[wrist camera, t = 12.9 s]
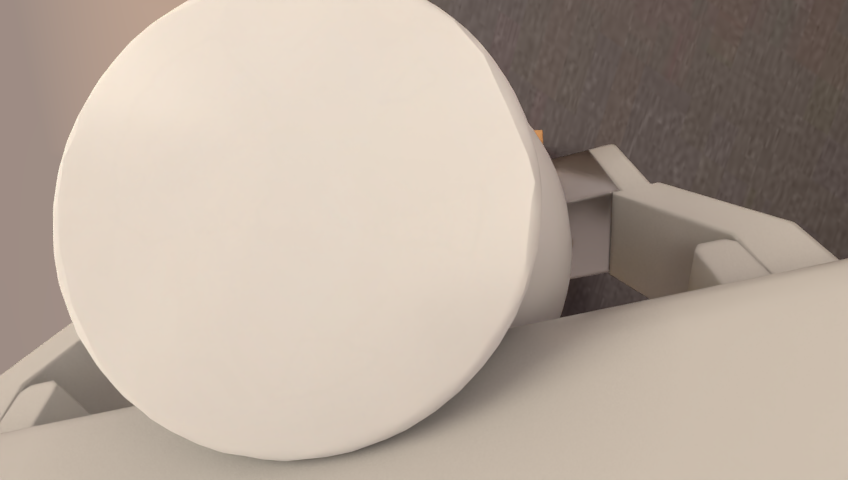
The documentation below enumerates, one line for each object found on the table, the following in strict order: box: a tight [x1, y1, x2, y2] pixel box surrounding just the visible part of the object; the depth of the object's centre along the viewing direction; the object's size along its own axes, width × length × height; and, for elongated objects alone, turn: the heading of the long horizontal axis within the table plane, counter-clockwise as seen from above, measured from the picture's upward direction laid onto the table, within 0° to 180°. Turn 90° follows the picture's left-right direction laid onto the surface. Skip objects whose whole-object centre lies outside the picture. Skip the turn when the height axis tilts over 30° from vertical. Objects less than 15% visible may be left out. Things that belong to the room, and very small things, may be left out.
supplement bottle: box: [53, 0, 572, 461], centre depth 11 cm, size 7×7×13 cm
